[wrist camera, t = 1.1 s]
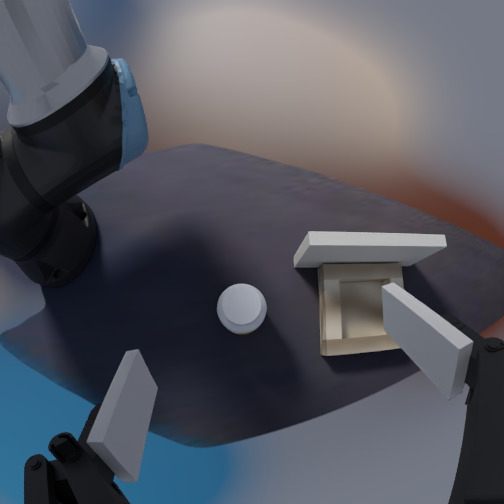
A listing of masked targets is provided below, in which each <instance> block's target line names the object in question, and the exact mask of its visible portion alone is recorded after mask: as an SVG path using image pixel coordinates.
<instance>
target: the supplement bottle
mask: <svg viewBox="0 0 504 504" xmlns="http://www.w3.org/2000/svg"><path fill="white" fill-rule="evenodd" d="M266 311H267V306H266V301H265V298H264V296H263V295H262V293H261V292H260V291H259V290H258V289H256V288H255V287H253V286H251V285H248V284H235V285H232V286H230V287H228V288H227V289H226V290H225V291H224V292H223V293H222V294H221V296H220V297H219V300H218V303H217V313H218V317H219V319H220V321H221V323H222V324H223V325H224V326H225V327H226V328H227V329H228V330H230V331H231V332H233V333H236V334H248V333H251V332H253V331H254V330H256V329H257V328H258V327H259V326H260V325H261V324H262V322H263V320H264V318H265V316H266Z"/></svg>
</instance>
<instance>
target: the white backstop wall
mask: <svg viewBox="0 0 504 504" xmlns="http://www.w3.org/2000/svg"><path fill="white" fill-rule="evenodd" d="M445 247H447V245H446V240H445V235H433V234H403V233H365V232H308V234H307V235H306V237H305V239H304V240H303V242H302V244H301V245H300V247H299V249H298V250H297V252H296V254H295V255H294V268H311V267H321V266H322V265H323V264H392V263H401V266H411V265H413V264H414V263H416V262H418V261H420V260H422V259H424V258H426V257H428V256H430V255H432V254H434V253H436V252H437V251H439V250H441V249H443V248H445Z"/></svg>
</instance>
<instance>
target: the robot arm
mask: <svg viewBox="0 0 504 504" xmlns="http://www.w3.org/2000/svg"><path fill="white" fill-rule="evenodd" d="M0 81H1V83H2V84H3V86H4V87H5V89H6V90H7V92H8V94H9V95H10V97H11V101H10V105H9V110H8V114H7V119H8V121H9V123H10V126H9V127H8V128H6V129H5V130H4V131H2V132H1V133H0V255H2V256H4V257H7V258H9V259H11V260H13V261H14V262H15V263H16V264H17V265H18V267H19V268H20V269H21V270H22V272H23V273H24V274H25V275H26V276H27V277H28V278H29V279H30V280H32V281H33V282H35V283H38V284H40V285H43V286H46V287H59V286H62V285H65V284H67V283H69V282H70V281H72V280H73V279H74V278H76V277H77V276H78V275H79V274H80V273H81V271H82V270H83V269H84V268H85V266H86V265H87V263H88V261H89V259H90V257H91V255H92V252H93V249H94V246H95V241H96V221H95V217H94V215H93V212H92V210H91V209H90V207H89V206H88V205H87V204H86V203H85V202H84V201H83V200H82V199H81V198H80V197H79V196H77V195H76V194H78V193H79V192H81V191H83V190H84V189H86V188H88V187H89V186H91V185H93V184H94V183H96V182H98V181H99V180H101V179H103V178H104V177H106V176H108V175H110V174H111V173H113V172H115V171H119V170H120V169H122V168H123V166H124V165H125V164H127V163H128V162H130V161H132V160H133V159H135V158H137V157H138V156H140V155H141V154H142V153H143V152H144V150H145V149H146V147H147V145H148V128H147V123H146V118H145V114H144V110H143V106H142V103H141V99H140V96H139V94H138V93H137V88H136V84H135V80H134V77H133V75H132V72H131V70H130V68H129V66H128V64H127V63H126V61H125V60H124V59H121V58H119V59H113V60H110V58H109V55H108V53H107V51H106V50H105V49H103V48H100V47H95V46H91V45H87V44H86V41H85V39H84V36H83V34H82V32H81V29H80V27H79V24H78V22H77V19H76V17H75V14H74V11H73V9H72V6H71V4H70V1H69V0H0ZM381 287H382V303H383V325H384V331H385V332H386V333H387V334H388V335H389V336H390V337H391V338H392V339H393V340H394V341H395V342H396V343H397V344H398V345H399V346H400V347H401V348H402V350H403V351H404V352H405V353H406V354H407V355H408V356H409V357H410V358H411V359H412V360H413V361H414V362H415V363H416V365H417V366H418V367H419V368H420V369H421V370H422V371H423V372H424V373H425V374H426V375H427V376H428V378H429V379H430V380H431V381H432V382H433V383H434V384H435V385H436V386H437V387H438V388H439V390H440V391H441V392H442V393H443V394H444V395H445V396H446V398H447V399H448V400H450V399H452V398H454V397H455V396H457V395H459V394H461V393H462V392H463V388H464V384H465V383H466V384H468V386H469V387H470V388H469V392H468V396H467V399H466V403H465V404H466V405H467V413H466V421H465V429H464V436H463V442H462V448H461V453H460V458H459V463H458V468H457V473H456V477H455V481H454V485H453V489H452V492H451V496H450V500H449V503H448V504H504V342H503V340H501V339H499V338H493V337H492V338H486V339H484V338H483V337H482V336H480V335H479V334H478V333H476V332H475V331H474V330H472V329H471V328H470V327H468V326H466V325H465V324H464V323H463V322H461V321H460V320H459V319H457V318H456V317H454V316H452V315H449V314H445V313H444V314H442V315H440V316H439V315H438V314H437V313H435V312H434V311H433V310H431V309H430V308H429V307H427V306H426V305H424V304H423V303H422V302H420V301H419V300H418V299H416V298H415V297H413V296H412V295H411V294H409V293H408V292H406V291H405V290H404V289H402V288H401V287H399V286H398V285H397V284H395V283H394V282H393V283H390V284H387V285H384V286H381ZM157 390H158V387H157V385H156V383H155V381H154V380H153V378H152V376H151V374H150V372H149V370H148V368H147V366H146V364H145V362H144V359H143V357H142V355H141V353H140V351H139V349H136V350H131V351H126V353H125V355H124V357H123V359H122V361H121V363H120V365H119V368H118V370H117V372H116V374H115V376H114V379H113V381H112V383H111V385H110V387H109V390H108V392H107V394H106V396H105V399H104V401H103V403H102V404H97V405H96V406H95V407H94V408H93V410H91V412H90V414H89V417H88V420H87V421H86V423H85V426H84V428H83V431H82V433H81V435H80V437H79V440H78V442H77V441H76V439H75V438H74V437H73V435H72V434H70V433H67V432H65V433H60V434H58V435H56V436H55V437H54V438H52V440H51V441H50V443H49V447H48V448H49V451H50V452H51V453H52V454H53V455H54V457H55V458H56V459H57V460H53V461H48V460H47V459H46V458H45V457H44V456H43V455H40V454H37V455H34V456H32V457H30V458H29V459H28V460H27V462H26V463H25V467H24V504H130V503H129V501H128V500H127V499H126V497H125V496H124V495H123V493H122V492H121V490H120V489H119V487H118V486H117V484H115V482H114V481H113V479H114V475H116V476H117V477H118V478H119V479H120V480H121V481H122V482H123V481H124V482H137V480H138V474H139V469H140V464H141V459H142V455H143V450H144V446H145V441H146V437H147V432H148V428H149V423H150V419H151V415H152V411H153V406H154V402H155V398H156V394H157Z"/></svg>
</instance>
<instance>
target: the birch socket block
mask: <svg viewBox="0 0 504 504" xmlns="http://www.w3.org/2000/svg"><path fill="white" fill-rule="evenodd" d="M393 282H394V283H395V284H397V285H398V286H399V287H401V288H402V289H404V286H403V276H402V267H401V263H392V264H323V265H322V266H321V267H320V268H319V269H318V286H319V309H320V343H321V355H325V356H332V355H344V354H355V353H364V352H374V351H382V350H390V349H397V348H401V347H400V346H399V345H398V344H397V343H396V342H395V341H394V340H393V339H392V338H391V337H390V336H389V335H388V334H387V333H386V332H385V331H384V325H383V303H382V287H381V286H384V285H387V284H390V283H393Z"/></svg>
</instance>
